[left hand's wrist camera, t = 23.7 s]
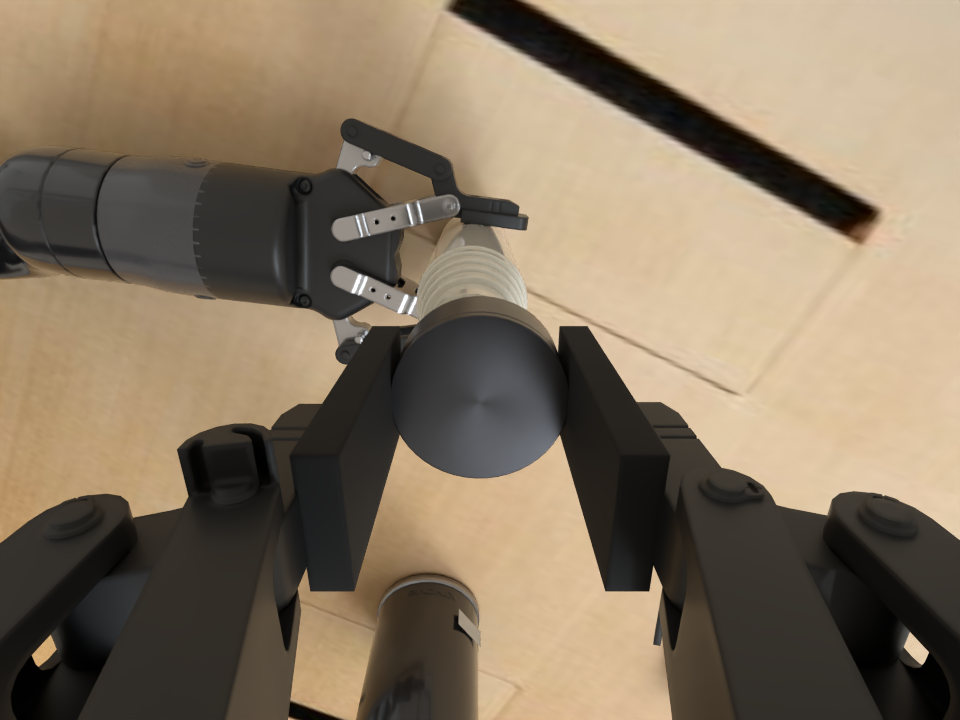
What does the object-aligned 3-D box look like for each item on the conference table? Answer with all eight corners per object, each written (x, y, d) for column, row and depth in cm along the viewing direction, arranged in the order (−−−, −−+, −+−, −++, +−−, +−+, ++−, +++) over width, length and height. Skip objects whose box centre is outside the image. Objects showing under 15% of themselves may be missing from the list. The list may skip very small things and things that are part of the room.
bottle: (475, 291, 37) (476, 441, 17) (426, 247, 36) (366, 355, 16) (520, 242, 36) (575, 344, 16) (470, 196, 35) (464, 243, 15)
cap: (561, 436, 15) (571, 472, 13) (411, 447, 15) (402, 484, 13) (556, 288, 13) (568, 307, 12) (389, 302, 14) (376, 323, 12)
